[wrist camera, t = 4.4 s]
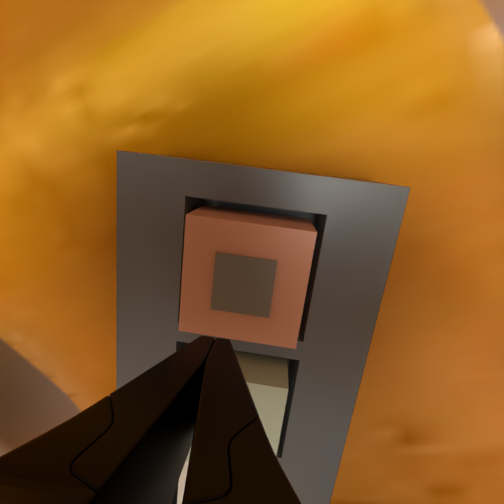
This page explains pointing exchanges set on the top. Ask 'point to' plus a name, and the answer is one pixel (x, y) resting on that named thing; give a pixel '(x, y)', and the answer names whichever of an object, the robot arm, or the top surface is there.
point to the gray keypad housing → (316, 300)
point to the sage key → (266, 390)
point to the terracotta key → (245, 275)
